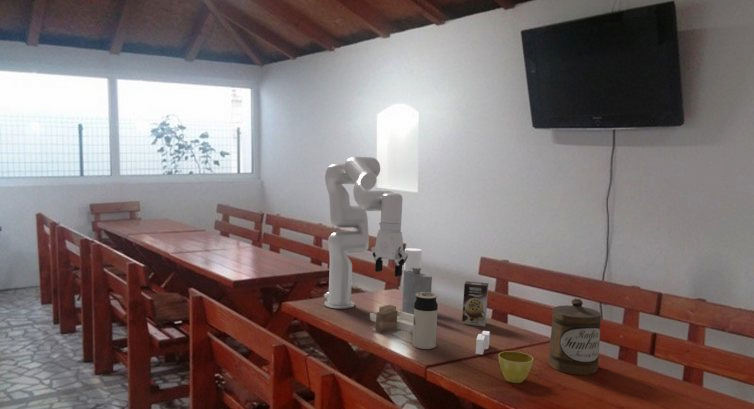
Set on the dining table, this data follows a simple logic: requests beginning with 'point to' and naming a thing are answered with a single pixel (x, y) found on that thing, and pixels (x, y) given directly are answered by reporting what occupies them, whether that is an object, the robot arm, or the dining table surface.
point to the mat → (386, 332)
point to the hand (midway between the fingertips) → (388, 273)
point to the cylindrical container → (413, 258)
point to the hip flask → (414, 287)
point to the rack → (400, 320)
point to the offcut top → (387, 308)
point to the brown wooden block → (386, 321)
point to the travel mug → (425, 320)
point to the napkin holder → (482, 342)
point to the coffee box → (475, 303)
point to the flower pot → (515, 365)
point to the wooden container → (575, 339)
